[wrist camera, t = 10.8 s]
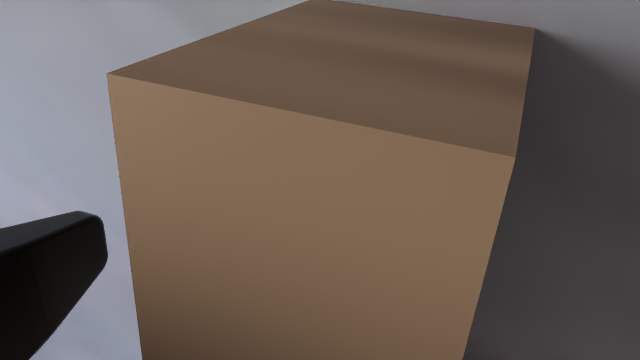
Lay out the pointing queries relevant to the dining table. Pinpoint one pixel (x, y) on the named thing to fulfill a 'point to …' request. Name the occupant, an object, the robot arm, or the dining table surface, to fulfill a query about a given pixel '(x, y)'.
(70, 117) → the dining table surface
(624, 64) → the dining table surface
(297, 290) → the wooden block with plate
